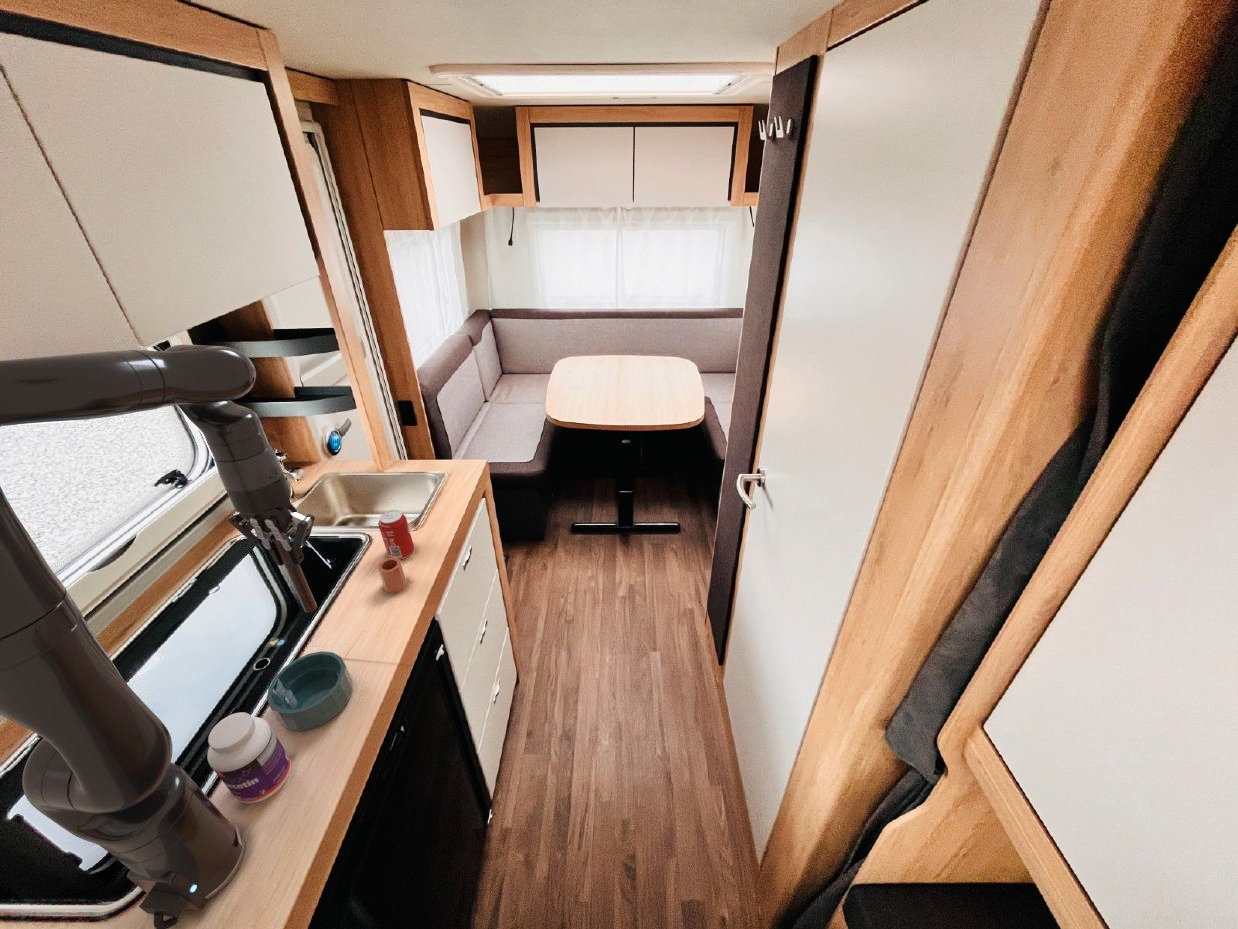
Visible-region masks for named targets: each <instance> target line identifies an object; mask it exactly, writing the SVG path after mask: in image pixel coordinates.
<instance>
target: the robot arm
mask: <svg viewBox="0 0 1238 929" xmlns="http://www.w3.org/2000/svg"><path fill="white" fill-rule="evenodd" d="M256 379H257V371H256V368H255V365H254V363H253V362H252V361H251V359H250V358H249V357H248V355H246V354H244V353H243V352H242V351H240V350H238V349H236V348H233V347H229V346H221V345H201V344H175V345H171V346H169V347H168V348H166V349H165V350H163V351H160V350H148V349H127V350H126V349H125V350H110V351H95V352H94V351H93V352H83V353H71V354H58V355H49V356H39V357H38V356H37V357H28V358H14V359H4V360H3V359H2V360H0V428H1V427H2V428H3V427H11V426H21V425H32V424H33V425H34V424H35V425H36V424H47V423H62V422H64V423H65V422H75V421H87V420H99V419H106V418H113V417H119V416H120V417H121V416H125V415H133V414H137V413H142V412H148V411H153V410H157V409H162V408H166V407H173V406H177V407H178V409H179V410H180V411H181V412H182V413H183V415H185V417H186V418H187V419H188V420H189V421H190V422H191V423H192V425H193V426H194V427H195V428H196V429H197V430H198V431H199V432H200V433H201V435H202V437H203V440H204V442H205V444H206V446H207V449H208V451H209V453H210V455H211V457H212V459H213V463H214V466H215V469H216V473H217V475H218V478H219V479H220V481H221V484H222V485H223V487H224V489H225V492H226V494H227V496H228V498H229V500H230V502H231V504H232V507H233V509H234V510H235V511H236V512H235V513H234V514H232V515H231V516H230V517H228V520H227V521H228V522H229V523H230V524H231V526H233V527H234V528H235V529H236V530H237V531H238V532H239V533H240V534H242V535H243V536H244V537H245V538H246V539H247V540H248V541H249V542H250V543H251V544H252V545H254V546H259V545H262V546H263V548H264V549H266V550H267V551H268V552H269V555H270V557H271V560H272V561H273V562H274V563H275V565H276V566H279V567H280V566H284V564H283V561H282V559H281V557H280V555H279V552H278V550H277V548H276V546H275V544H274V540H275V539H276V540H280V542H281V544H282V546H283V547H284V549H285V550H284V551H285V554H286V556H287V558H288V560H289V563H290V565H291V566H292V567H297V566H298V565H300V564H301V563H302V562H303V561H304V559H305V555H304V552H303V550H302V546H303V545H304V544H305V543H306V542H307V541H308V540H309V539H310V537H311V533H312V531H313V526H314V524H315V515H313V514H309V513H308V514H306V516H305V515H304V514H301V513H299V512H298V510H297V508H296V507H295V506H294V505H293V504H292V502H291V495H292V493H291V492H292V491H291V489H290V486H289V483H288V481H287V478H286V476H285V474H284V471H283V469H282V466H281V462H280V460H279V458H278V456H277V454H276V452H275V450H274V449H273V447H272V446H271V443H270V441H269V439H268V437H267V433H266V432H265V429H264V426H263V424H262V421H261V418H260V417H259V415H258V413H256V412H255V411H254V410H253V409H251V408H248V407H245V406H242V405H239V404H237V403H235V402H234V400H237V399H239V398H242V397H244V396H245V395H246V394H248V393H249V392H250V391H251V390H252V388H253V387H254V384H255V383H256ZM253 530H254V532H255V534H254V533H253V532H252V531H253ZM289 538H290V539H289ZM0 716H1V717H4V718H6V719H8V720H9V721H11V722H13V723H16V724H18V725H19V726H21V727H23V728H25V729H27V730H29V731H30V732H33V733H34V734H36V735H38V736H39V737H41V741H39V742H38V744H36V746H35V747H34V749H32V751H31V753H30V754H29V756H28V758H27V760H26V763H25V765H24V768H23V772H22V776H21V777H22V778H21V783H22V784H21V785H22V790H23V794H24V795H25V798H26V799H27V801H28V802H29V803H30V804H31V806H32V807H33V808H35V809H36V810H37V811H38V812H39V813H41V814H42V815H43V816H45V817H46V818H48V819H50V820H51V821H52V822H54V823H55V824H57V825H58V826H60V828H62V829H64V830H65V831H66V832H68V833H70V834H71V835H73V836H74V837H76V838H79V839H80V840H83V841H86V842H89V843H91V844H92V843H93V844H94V845H95V844H96V845H97V846H99V847H101V848H102V849H103V850H104V851H106V852H107V853H109V854H110V855H111V856H112V857H114V858H115V859H116V860H117V861H119V862H120V863H121V864H122V865H123V866H125V867H126V868H127V869H129V871H128V872H127V874H126V878H127V879H128V880H130V882H132V883H133V884H134V885H136V886H137V887H139V888H140V889H141V890H142V891H144V892H145V893H146V896H145V897H144V899H143V900H142V902H141V903H140V904H139V906H138V908H139V909H141V910H142V911H144V912H145V913H146V914H148V915H149V914H150V915H153V926H154V929H169V928H171V927H174V926H175V925H176V924H177V923H178V921H179V918H180V917H181V916H182V914H183V912H184V911H185V909H188V910H195V911H202V910H203V909H204V908H205V906H206V904H207V903H208V902H209V901H210V900H211V899H212V898H214V897H215V896H217V895H218V894H219V893H220V892H222V890H223V889H224V888H225V887H227V885H228V884H229V883H231V881H232V880H233V878H234V877H235V875H236V874H237V873H238V871H239V869H240V867H241V866H242V864H243V861H244V859H245V855H246V849H247V847H246V846H247V844H246V839H245V837H244V835H243V834H242V833H241V832H240V829H239V826H238V825H237V824H236V823H234V825H233V824H232V823H231V822H230V821H229V819H227V818H226V816H225V815H224V814H223V813H222V812H221V811H220V810H219V809H218V807H217V806H216V805H215V804H214V803H213V802H212V800H211V799H210V798H209V797H208V796H207V794H205V793H204V791H203V790H202V789H201V787H200V786H198V784H197V783H196V782H195V781H194V780H193V779H192V778H191V776H190V775H189V774H188V773H187V772H186V771H185V769H183V768H182V767H181V766H180V765H179V764H176V763H174V762H172V759H173V740H172V737H171V733H170V732H169V730H168V727H167V726H166V725H165V723H164V722H163V721H162V720H161V719H160V718H159V717H158V716H157V715H156V714H155V713H154V712H153V711H152V710H151V709H150V707H149V706H148V705H147V704H146V703H145V702H144V701H143V700H142V698H140V696H138V694H136V693H135V691H134V690H133V689H132V688H131V687H130V686H129V685H128V683H127V681H126V680H125V679H124V678H123V676H122V675H121V673H120V671H119V670H118V669H117V667H116V665H115V664H114V662H113V660H112V659H111V658H110V656H109V654H108V653H107V652H106V650H105V648H104V647H103V646H102V644H101V642H100V641H99V640H98V639H97V637H96V635H95V634H94V633H93V631H92V630H91V628H90V626H89V624H88V623H87V621H86V619H85V617H84V614H82V611H81V610H80V609H79V607H78V605H77V604H76V602H75V601H74V599H73V598H72V596H71V594H70V592H68V589H67V588H66V587H65V585H64V583H62V581H61V580H60V578H58V576H57V575H56V573H55V572H54V571H53V569H52V568H51V566H50V565H49V564H48V561H47V560H46V559H45V557H44V556H43V554H42V552H41V550H40V549H39V547H38V546H37V544H36V542H35V541H34V538H32V536H31V534H30V533H29V531H28V530H27V528H26V527H25V525H24V524H23V522H22V521H21V520H20V518H19V517H18V515H17V514H16V512H15V510H14V509H13V507H12V505H11V503H10V502H9V499H8V498H7V496H6V494H5V492H4V489H3V488H2V485H1V484H0ZM164 917H169V918H168V919H166V920H165V918H164Z"/></svg>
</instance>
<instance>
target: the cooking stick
mask: <svg viewBox="0 0 1238 929" xmlns="http://www.w3.org/2000/svg"><path fill="white" fill-rule="evenodd" d="M274 544H275V546H276V548H277V550H278V552H279V555H280V557H281V559H282V561H283V567H284V568H285V570H286V573H287V575H288V578H289V580H290V581H291V584H292V586H293V588H294V591H295V593H296V595H297V597H298V600H299V602H300V604H301V606H302V608H303V610H304V612H305V613H306V614H307V613H313V612H314V611H316V610H317V608H318V605H317V603H316V599H315V598H314V596H313V593H312V591H311V588H310V586H309V583H308V580H307V579H306V576H305V574H304V572H303V570H302V567H301V565H300V564H299V565H298V566H297V567H292V566H291V565H290V563H289V560H288V558H287V556H286V554H285V551H284V550H285V549H284V547H283V546H282V544H281V542H280V540H276V539H275V540H274Z"/></svg>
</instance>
